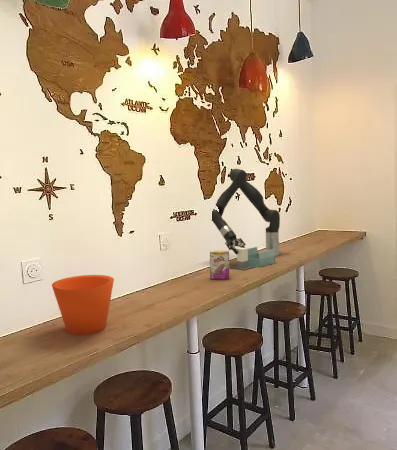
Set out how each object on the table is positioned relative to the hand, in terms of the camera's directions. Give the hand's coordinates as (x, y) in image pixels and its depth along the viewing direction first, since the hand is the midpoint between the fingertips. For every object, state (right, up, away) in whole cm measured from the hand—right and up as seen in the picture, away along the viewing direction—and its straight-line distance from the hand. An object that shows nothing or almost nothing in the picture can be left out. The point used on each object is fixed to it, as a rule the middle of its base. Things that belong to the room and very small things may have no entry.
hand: (241, 252), depth 297 cm
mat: (+1, -10, +1) cm, 10 cm away
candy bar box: (-15, -14, -26) cm, 33 cm away
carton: (+12, -8, +12) cm, 19 cm away
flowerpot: (-75, -26, -104) cm, 131 cm away
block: (+1, -9, +1) cm, 9 cm away
